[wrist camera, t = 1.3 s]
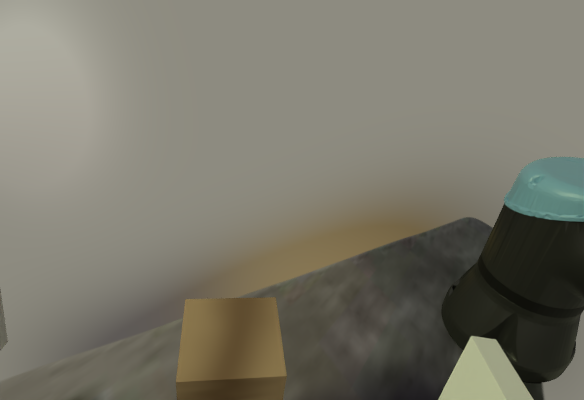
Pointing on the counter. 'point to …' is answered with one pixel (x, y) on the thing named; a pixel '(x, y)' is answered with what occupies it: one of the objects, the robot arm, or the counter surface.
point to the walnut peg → (231, 350)
